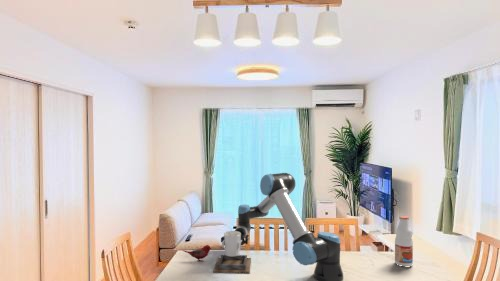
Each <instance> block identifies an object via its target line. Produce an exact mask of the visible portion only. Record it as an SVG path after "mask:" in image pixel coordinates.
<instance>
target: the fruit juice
mask: <svg viewBox="0 0 500 281" xmlns="http://www.w3.org/2000/svg"><path fill="white" fill-rule="evenodd" d="M409 217H410V216H407V215H400V216H399V222H398V225H397V226H396V227H395V238H394V264H395V263H396V264H398V265H402V266H411V265H412V264H413V261H414V260H413V259H414V258H413V257H414V256H413V253H414V252H413V251H414V248H413V247H414V246H413V244H414V241H413V238H412V237H413V234H414V233H413V230H412V228H411V226H410V223H409ZM396 264H395V265H396ZM398 265H397V266H398ZM413 265H414V264H413ZM413 265H412V266H413Z"/></svg>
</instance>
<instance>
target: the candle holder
mask: <svg viewBox="0 0 500 281" xmlns="http://www.w3.org/2000/svg"><path fill="white" fill-rule="evenodd" d="M223 236H224V240H225V245H224V253H225V254H224V255H227V256H231V257H234V256H238V255H241V247H240V248H238V243H239V242H240V241H241V232H238V231H235V230H228V231H225V232H224V233H223Z"/></svg>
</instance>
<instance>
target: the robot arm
mask: <svg viewBox="0 0 500 281" xmlns="http://www.w3.org/2000/svg"><path fill="white" fill-rule="evenodd" d="M259 187H260V188H259V189H260V192H261V194H262V195H264V196H266V197H265V198H264V199H262V200H261V202H259V204H257V205H255V206H250V205H249V204H240V205H239V206H238V207H237V208H238V209H237V214H238V216H237V218H238V224H237V225H238V226H237V228H235V230H234V231H238V232H241V241H240V242H239V243H238V248H240V249H241V247H242V246H244V245H245V244H246V245H248V242H249V240H250V236H249V233H250V231H251V228H252V226H251V223H250V221H251V219H258V218H264V217H266V216H268V215H269V213H270V210H271V209H272V208H274V207H275V205H276V208H277V209H278V211H279V214H280V216H281V217H282V219H283V221H284V222H285V224H286V227H287V228H288V230H289V233H290V234H291V236H292V238H293V240H292V244H293V246H292V254H293V257H294V259H295V260H296V261H297V263H299V264H300V265H303V266H310V265H314V264H316V265H315V267H314V271H313V276H314V279H316V280H317V281H343V280H344V272H343V269H342V266H341V239H340V236H339V235H338V234H335V233H333V232H328V231H327V232H326V231H319V232H317V235H316V236H315V234H314V233H313V231H309V230H308V228H307V226H306V225H305V223H304V221H303V219H302V218H301V216H300V213H299V212H298V210H297V208H296V207H295V205H294V203H293V201H292V200H291V199H292V198H290V194H291V193H293V191H294V190H295V187H296V180H295V178H294V176H293V175H292V174H290V173H287V172H281V173H280V172H279V173H269V174H268V173H267V174H264V175H263V176H262V177H261V179H260V184H259ZM220 242H221V247H222V248H225V240H224V235H223V236H222V237H220Z"/></svg>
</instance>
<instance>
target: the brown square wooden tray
mask: <svg viewBox="0 0 500 281" xmlns="http://www.w3.org/2000/svg"><path fill="white" fill-rule="evenodd" d="M251 262H252V258H251V257H248V255H247V254H239V255H238V256H234V257H231V256H227V255H226V254H221V255H220V257H217V259H216V262H215V264H214V268H213V271H212V274H250V272H251Z"/></svg>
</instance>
